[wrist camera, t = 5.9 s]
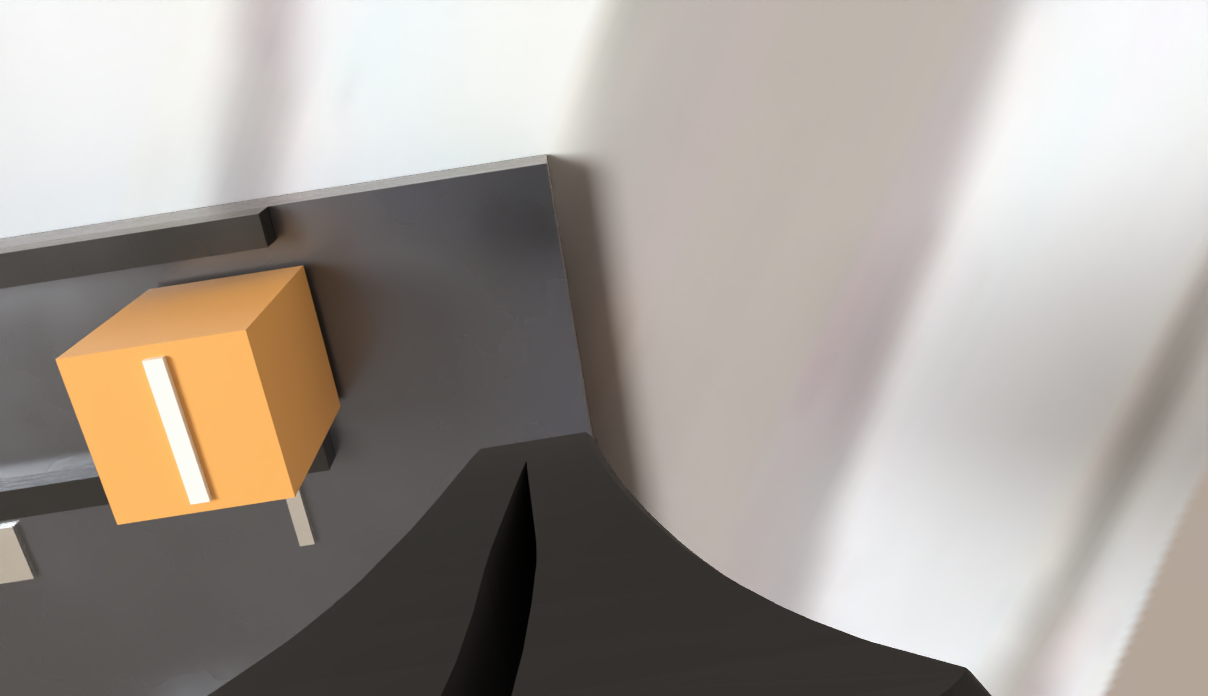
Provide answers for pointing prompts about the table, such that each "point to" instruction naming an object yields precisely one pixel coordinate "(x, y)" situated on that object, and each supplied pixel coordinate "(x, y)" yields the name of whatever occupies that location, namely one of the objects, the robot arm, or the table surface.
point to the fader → (204, 395)
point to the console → (348, 453)
